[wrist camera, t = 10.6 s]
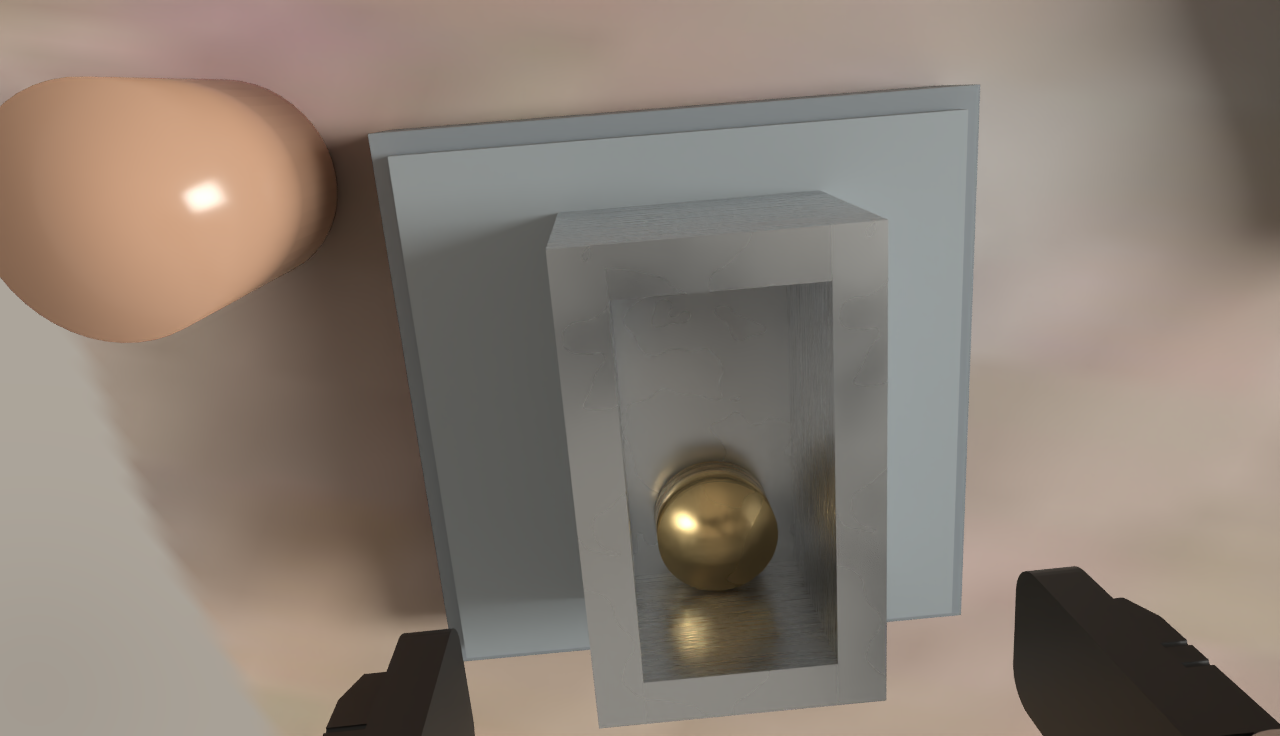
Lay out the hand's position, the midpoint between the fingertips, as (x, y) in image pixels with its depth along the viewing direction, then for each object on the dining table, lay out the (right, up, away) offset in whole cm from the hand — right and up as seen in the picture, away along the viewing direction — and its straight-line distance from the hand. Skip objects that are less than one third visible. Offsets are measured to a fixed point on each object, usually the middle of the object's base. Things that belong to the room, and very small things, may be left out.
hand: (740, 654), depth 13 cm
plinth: (0, +4, +12) cm, 13 cm away
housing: (0, +3, +9) cm, 10 cm away
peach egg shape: (-12, +9, +10) cm, 18 cm away
